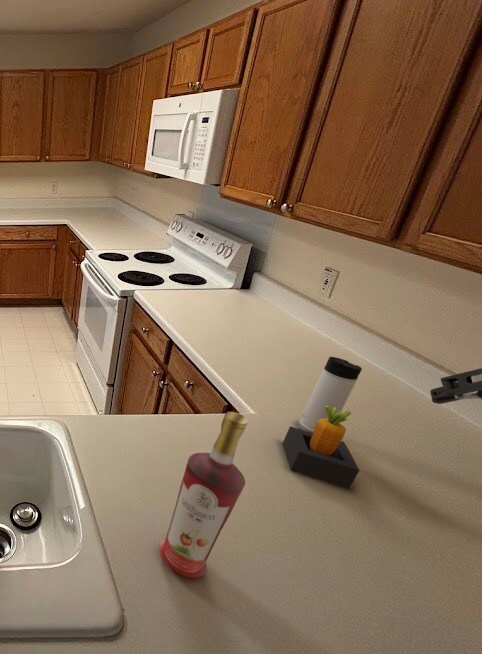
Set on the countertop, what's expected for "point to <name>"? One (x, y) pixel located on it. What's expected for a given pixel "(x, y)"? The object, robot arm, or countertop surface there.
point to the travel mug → (330, 391)
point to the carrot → (328, 432)
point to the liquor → (204, 501)
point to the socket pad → (319, 459)
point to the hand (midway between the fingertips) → (465, 402)
